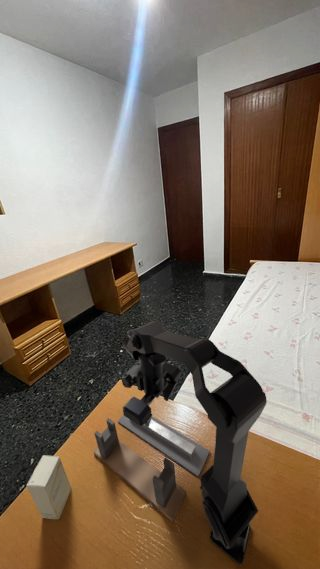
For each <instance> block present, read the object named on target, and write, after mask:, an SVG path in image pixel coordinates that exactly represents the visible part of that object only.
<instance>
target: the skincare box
mask: <svg viewBox="0 0 320 569" xmlns="http://www.w3.org/2000/svg"><path fill="white" fill-rule="evenodd" d="M25 486H26V487H27V489H28V492H29V494H30V496H31V498H32V500H33V501H34V504H35V507H37V510H38V512H39V514H40V517H41V518H43V519H49V520H59V519H60V518H61V516H62V513H63V511H64V508H65V505H66V503H67V500H68V498H69V496H70V493H71V491H72V486H71V483H70V481H69V478H68V476H67V473H66V471H65V468H64V465H63V463H62V460H61V458H60V456H58V455H48V454H47V455H46V454H45V455H44V454H43V455H42V456H41V458H40V459H39V462H38V463H37V464H36V467H35V468H34V471H33V473H32V474H31V475H30V478H29V480H28V482H27V484H26V485H25Z"/></svg>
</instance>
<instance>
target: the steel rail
mask: <svg viewBox="0 0 320 569" xmlns="http://www.w3.org/2000/svg"><path fill="white" fill-rule="evenodd" d="M129 420H130V419H129ZM132 422H133V421H132ZM134 423H135V422H134ZM135 424H136V423H135ZM137 425H138V424H137ZM138 426H139V425H138ZM140 427H141V428H143V429H144V430H146V431H147V432H149V433H151V434H152V435H154V436H155V437H157V438H158V439H160V440H161V441H163V442H164V443H166V444H168V445H169V446H171V447H172V448H174V449H175V450H177V451H178V452H180V453H181V454H183V455H184V456H186V457H188V458H189V459H191V460H192V458H193V456H194V454H195V452H196V446H195V445H193V444H191V443H190V442H188V441H186V440H185V439H183V438H181V437H180V436H178V435H176V434H175V433H173V432H171V431H170V430H168V429H166V428H165V427H163V426H161V425H160V424H158V423H156V422H155V421H153V420H151V422H150V425H149V427H147V426H146V425H145V424H144V425H142V426H140Z"/></svg>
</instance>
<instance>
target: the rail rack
mask: <svg viewBox="0 0 320 569" xmlns="http://www.w3.org/2000/svg"><path fill="white" fill-rule="evenodd" d="M106 425H107V427H106V428H105V429H104V430H103V431H102V433H101V432H100V431H98V430H96V431H95V432H94V437H95V441H96V444H97V446H96V448H95V449H94V450H93V454H94V455H95V456H96V457H97V459H99V460H100V461H102V462H103V463H104V464H105V465H106V466H107V467H108V468H110V469H111V470H112V471H113V472H115V474H117V475H118V476H119V477H120V478H121V479H123V481H125V482H126V483H127V484H128V485H129V486H130V487H132V489H134V490H135V491H136V492H137V493H139V494H140V496H142V497H143V498H144V499H146V500H147V501H148V502H149V503H150V504H151V505H152V506H153V507H155V508H156V509H157V510H158V511H160V513H162V515H164V516H165V517H166V518H167V519H169V520H170V521H171V522H174V520H175V518H176V515H177V514H178V511H179V509H180V507H181V505H182V503H183V500H184V498H185V496H186V494H187V490H186V489H185V488H184V487H182V486H181V485H179V484H178V483H177V481H176V478H177V477H176V470H175V463H174V461H171V460H169V459H168V458H167V457H164V458H163V469H162V470H159V469H158V468H157V467H155V466H154V465H152V464H151V463H150V462H148V461H147V460H146V459H144V458H143V457H142V456H141V455H139V454H138V453H136V452H135V451H134V450H132V449H131V448H130V447H128V446H127V445H126V444H124V442H122V441H121V440H119V437H118V431H117V427H116V423H115V421H114V420H113V419H111V418H107V419H106Z"/></svg>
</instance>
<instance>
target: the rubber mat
mask: <svg viewBox="0 0 320 569" xmlns="http://www.w3.org/2000/svg"><path fill="white" fill-rule="evenodd" d="M151 420H153V421H155V422H156V423H158V424H160V425H161V426H163V427H165V428H166V429H168V430H170V431H171V432H173V433H175V434H176V435H178V436H180V437H181V438H183V439H185V440H186V441H188V442H190V443H191V444H193V445H195V446H196V452H195V454H194V456H193V458H192V460H191V459H189V458H188V457H186V456H184V455H183V454H181V453H180V452H178V451H177V450H175V449H174V448H172V447H171V446H169V445H168V444H166V443H164V442H163V441H161V440H160V439H158V438H157V437H155V436H154V435H152V434H151V433H149V432H147V431H146V430H144V429H143V428H141V427H140V426H138V425H137V424H135V423H134V422H132V421H131V420H129V419H128V418H127V417H125V416H124V414H123V413H122V415H121V417H120V418H119V419H118V420H117V423H119V424H120V425H121V426H123V427H124V428H125V429H126V430H129V431H130V432H132V433H133V434H135V435H136V436H137V437H139V438H140V439H141V440H143V441H144V442H146V443H147V444H149V445H151V446H152V447H153V448H155V450H157V451H159V452H160V453H162V454H164V455H165V456H167V457H168V458H169V459H171V460H172V461H173V462H176V463H177V464H178V465H179V466H181V467H182V468H184V469H186V471H189V472H190V473H191V474H193V475H195V477H197V478H199V476H200V475H201V472H202V470H203V468H204V465H205V464H206V461H207V459H208V456H209V455H210V453H211V452H210V451H211V450H209V448H206V447H205V446H203V445H201V444H199V443H198V442H196V441H195V440H193V439H192V438H190V437H187V436H186V435H185V434H183V433H181V432H179V431H177V429H174V428H172V427H171V426H169V425H167V424H166V423H164V422H162V421H160V420H159V419H158V418H156V417H154V416H152V418H151Z"/></svg>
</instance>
